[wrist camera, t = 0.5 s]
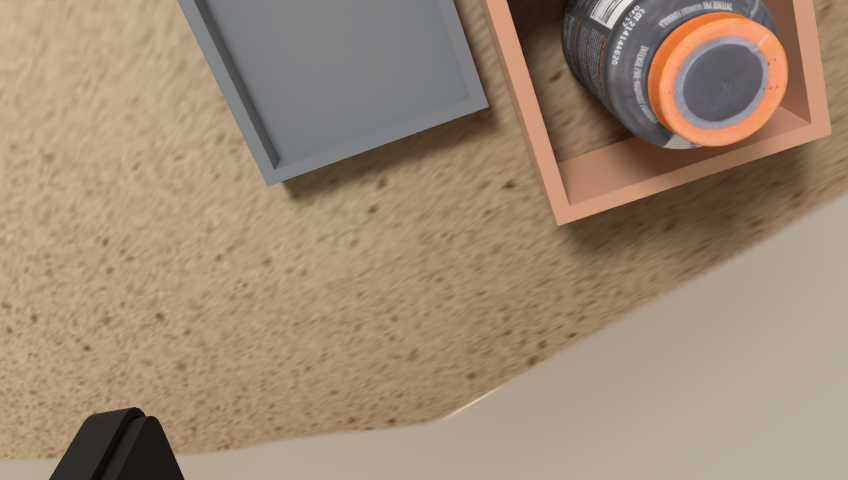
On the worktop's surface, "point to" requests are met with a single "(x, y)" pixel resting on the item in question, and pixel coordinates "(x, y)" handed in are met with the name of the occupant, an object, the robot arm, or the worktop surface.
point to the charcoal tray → (334, 74)
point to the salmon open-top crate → (649, 164)
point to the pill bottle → (679, 66)
